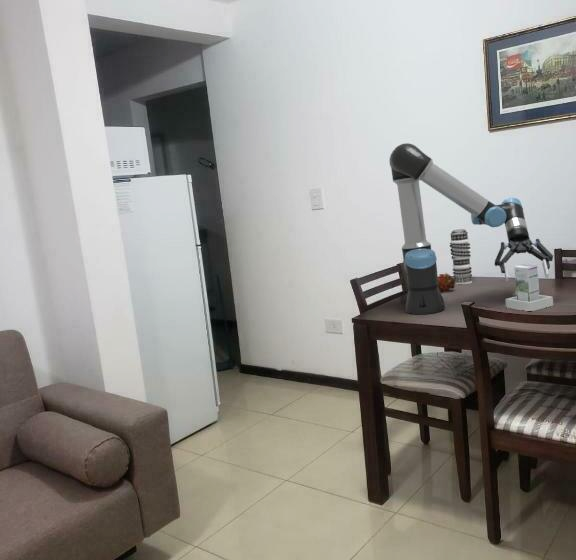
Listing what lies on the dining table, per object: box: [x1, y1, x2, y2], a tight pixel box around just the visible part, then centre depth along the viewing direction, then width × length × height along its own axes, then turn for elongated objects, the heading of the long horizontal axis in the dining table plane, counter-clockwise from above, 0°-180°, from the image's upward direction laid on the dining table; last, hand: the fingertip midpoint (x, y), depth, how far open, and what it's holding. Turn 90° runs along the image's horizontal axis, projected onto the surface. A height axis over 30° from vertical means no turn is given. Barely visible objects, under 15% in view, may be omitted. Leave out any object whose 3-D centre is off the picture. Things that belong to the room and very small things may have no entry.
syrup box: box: [514, 263, 540, 302], centre depth 201 cm, size 6×6×14 cm
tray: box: [505, 294, 554, 312], centre depth 202 cm, size 11×11×3 cm
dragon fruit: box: [438, 273, 456, 293], centre depth 249 cm, size 8×8×12 cm
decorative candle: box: [449, 228, 473, 285], centre depth 260 cm, size 9×9×25 cm
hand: (527, 277), depth 203 cm, fingers open, 13 cm apart
